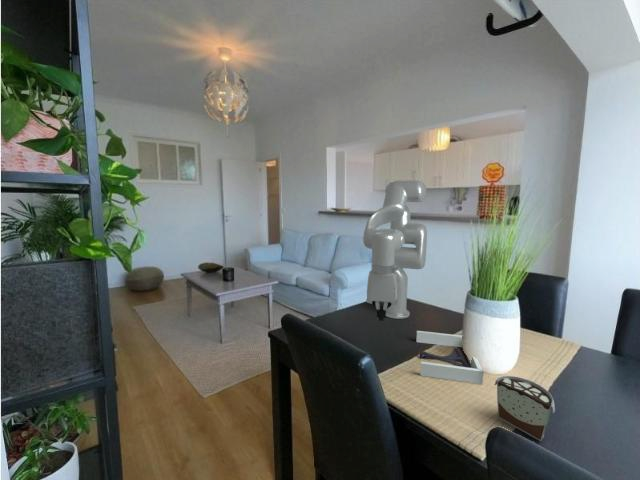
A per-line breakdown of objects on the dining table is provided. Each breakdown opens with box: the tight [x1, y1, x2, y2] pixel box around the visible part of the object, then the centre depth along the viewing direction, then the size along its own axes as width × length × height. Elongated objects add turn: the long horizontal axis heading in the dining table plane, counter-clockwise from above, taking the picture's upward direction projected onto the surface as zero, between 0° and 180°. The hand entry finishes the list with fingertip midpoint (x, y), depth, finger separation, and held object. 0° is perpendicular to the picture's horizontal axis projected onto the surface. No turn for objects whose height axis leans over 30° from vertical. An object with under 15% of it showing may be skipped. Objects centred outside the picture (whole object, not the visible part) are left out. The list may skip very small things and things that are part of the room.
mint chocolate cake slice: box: [494, 375, 556, 443], centre depth 73 cm, size 12×6×10 cm, turn 35°
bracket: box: [419, 347, 471, 368], centre depth 102 cm, size 14×15×3 cm
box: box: [416, 330, 484, 385], centre depth 102 cm, size 23×17×4 cm
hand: (381, 319), depth 107 cm, fingers closed
